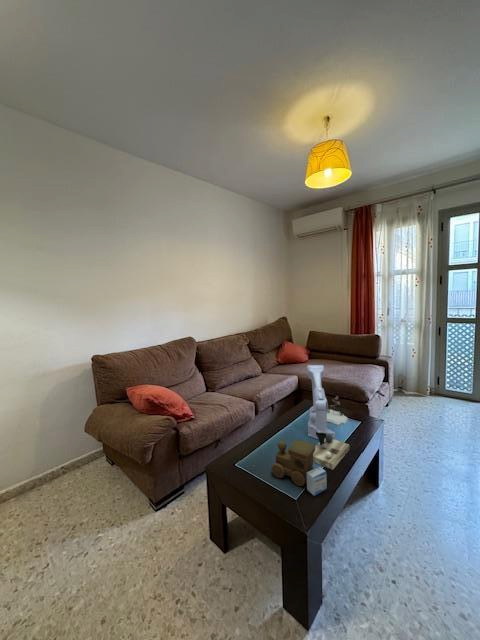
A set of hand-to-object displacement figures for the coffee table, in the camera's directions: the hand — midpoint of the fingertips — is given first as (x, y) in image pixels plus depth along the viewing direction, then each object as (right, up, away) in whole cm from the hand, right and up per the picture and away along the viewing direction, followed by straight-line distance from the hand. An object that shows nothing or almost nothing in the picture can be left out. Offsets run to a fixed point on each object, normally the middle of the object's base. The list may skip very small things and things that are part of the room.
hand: (322, 444), depth 142 cm
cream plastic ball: (0, -1, -9) cm, 9 cm away
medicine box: (-11, -7, -27) cm, 30 cm away
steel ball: (+1, 0, -1) cm, 1 cm away
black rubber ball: (+6, +1, +5) cm, 7 cm away
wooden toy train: (-20, -7, -17) cm, 27 cm away
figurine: (+20, -1, +39) cm, 44 cm away
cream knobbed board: (+3, -4, -2) cm, 6 cm away
